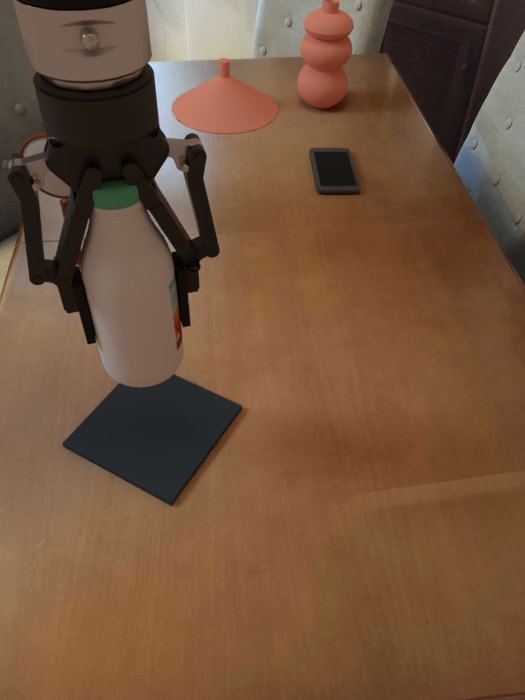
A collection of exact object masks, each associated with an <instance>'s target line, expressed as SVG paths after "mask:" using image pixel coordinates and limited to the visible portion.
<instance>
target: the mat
mask: <svg viewBox="0 0 525 700" xmlns="http://www.w3.org/2000/svg"><path fill="white" fill-rule="evenodd" d="M242 410H243V405H241V404H240V403H237V402H235V401H232V400H231V399H228V398H226V397H224V396H223V395H220V394H218V393H216V392H213V391H211V390H210V389H207V388H204V386H201V385H198V384H196V383H194V382H192V381H189V380H187V379H185V378H183V377H181V376H179V375H176V373H174V374H173V375H172V376H171V377H170V378H169V379H167V380H165V381H164V382H162V383H159V384H157V385H153V386H149V387H130V386H126V385H123V384H121V383H117V385H116V386H115V387H114V388H113V389H112V390H111V391H110V392H109V393H108V394H107V395H106V397H104V398H103V399H102V400H101V402H100V403H99V404H98V405H97V406H96V407H95V408H94V409H93V410H92V411H91V413H89V414H88V415H87V417H86V418H84V419H83V421H82V422H81V423H80V424H79V425H77V427H75V428H76V429H74V430H73V432H71V434H70V435H68V437H67V438H66V439H65V440H64V441H63V442H62V443H61V445H62V447H63V448H65V449H67V450H68V451H70V452H72V453H74V454H76V455H77V456H79V457H81V458H83V459H85V460H87V461H89V462H91V463H92V464H93V465H96V466H98V467H100V468H102V469H103V470H105V471H107V472H109V473H110V474H113V475H114V476H116V477H117V478H120V479H122V480H123V481H125V482H127V483H129V484H131V485H132V486H134V487H136V488H138V489H140V490H142V491H144V492H145V493H147V494H149V495H150V496H153V497H154V498H156V499H158V500H160V501H162V502H164V503H166V504H168V505H169V506H171V507H172V505H174V503H175V502H176V501H177V499H178V498H179V496H180V495H181V494H182V492H183V491H184V489H185V488H186V486H187V485H188V484H189V483H190V481H191V480H192V478H193V477H194V476H195V474H196V473H197V471H198V470H199V469H200V467H201V466H202V465H203V463H204V462H205V461H206V459H207V458H208V456H209V455H210V454H211V452H212V451H213V449H214V448H215V447H216V445H217V444H219V443H218V442H219V441H220V440H221V438H223V436H224V435H225V433H226V431H227V430H228V429H229V428H230V426H231V425H232V423H233V422H234V421H235V419H236V418H237V416H238V415H239V414H240V412H241V411H242Z"/></svg>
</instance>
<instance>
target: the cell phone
mask: <svg viewBox="0 0 525 700" xmlns="http://www.w3.org/2000/svg"><path fill="white" fill-rule="evenodd" d="M308 155H309V159H310V164H311V169H312V174H313V179H314V184H315V189H316V192H317V193H318V194H358V193H360V192H361V191H362V190H361V189H362V187H361V184H360V180H359V176H358V173H357V169H356V166H355V163H354V160H353V156H352V153H351V149H350V148H347V147H310V148H309V152H308Z"/></svg>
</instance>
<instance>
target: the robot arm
mask: <svg viewBox="0 0 525 700" xmlns="http://www.w3.org/2000/svg"><path fill="white" fill-rule="evenodd" d="M12 3H13V7H14V10H15V15H16V19H17V23H18V27H19V32H20V34H21V39H22V43H23V47H24V51H25V54H26V58H27V63H28V65H29V66H30V67H31V68H32V69H33V70H34V71H35V73H34V75H33V77H32V83H33V87H34V91H35V94H36V95H35V96H36V99H37V104H38V107H39V110H40V116H41V119H42V123H43V128H44V131H45V133H46V136H47V141H46V144H45V147H44V152H41V153H38V154H35V155H31V156H28V157H24V156H23V155H22V154H20V152H13V153H11V154H9V156H7V157H8V158H7V180H8V182H9V184H10V186H11V188H12V190H13V191H14V194H15V195H16V197H17V199H18V200H19V202H20V210H21V219H22V227H23V235H24V236H23V237H24V244H25V245H24V246H25V253H26V261H27V263H26V264H27V269H28V279H29V282H30V283H31V285H34V286H41V285H44V284H45V283H49V284H53V285H55V286H56V287H57V291H58V294H59V297H60V300H61V304H62V308H63V310H64V312H66V313H67V314H73V313H79V317H80V321H81V326H82V329H83V332H84V337H85V340H86V343H87V345H92V344H97V340H96V336H95V332H94V328H93V324H92V320H91V316H90V312H89V308H88V304H87V300H86V295H85V291H84V286H83V281H82V276H81V268H80V266H78V265H77V264H76V263H77V260H78V256H79V252H80V249H81V250H82V246H83V242H84V239H85V235H86V231H87V228H88V224H89V219H90V218H91V214H92V211H93V207H94V200H93V191H94V190H99V188H100V185H101V182H109V181H117V180H125V179H126V180H127V182H128V183H129V185H130V186H132V185H136V186H137V188H138V193H139V198H140V200H141V201H142V203H143V204H144V206H145V207H146V209H147V211H148V212H149V213H150V214H151V216H152V218H153V219H154V220H155V222H156V224H157V225H158V227H159V228H160V229H161V231H162V232H163V234H164V235H165V237H166V238H167V240H168V241H169V243H170V244H171V246H172V248H173V249H174V250H175V251H171V254H172V258H173V262H174V268H175V275H176V282H177V291H178V300H179V309H180V318H181V328H187V327H191V326H192V324H191V313H190V302H189V301H190V300H189V294H191V293H197V292H199V289H200V286H201V285H200V273H199V272H200V270H201V267H202V265H201V263H200V262H201V261H202V260H203V259H205V258H207V257H208V258H210V259H212V258H216V257H218V256H219V255H220V252H221V249H220V245H219V240H218V236H217V232H216V227H215V224H214V219H213V214H212V210H211V206H210V200H209V197H208V191H207V188H206V183H205V180H204V177H205V171H206V164H207V159H208V155H207V153H206V150H205V147H204V146H203V143H202V141H201V138H200V136H199V135H198V134H196V133H194V132H191V133H188V134H186V135H185V137H184V138H174V137H167V136H166V134H165V133H164V131H163V130H162V128H161V126H160V116H159V105H158V97H157V87H156V86H157V85H156V77H155V70H154V69H153V67H152V66H151V64H149V63H150V61H151V60H152V57H153V50H152V43H151V42H152V41H151V34H150V33H151V32H150V25H149V16H148V14H149V13H148V7H147V5H148V4H147V0H12ZM168 158H171V159H172V160H173V162H174V165H175V167H176V169H177V170H178V171H180V172H182V173H183V178H184V181H185V185H186V186H185V187H186V189H187V193H188V197H189V202H190V205H191V210H192V212H193V216H194V217H193V218H194V220H195V225H196V228H197V229H196V230H197V233H198V236H196V237H193V238H191V236H190V235H189V234H188V232H187V230H186V228H185V227H184V226H183V224H182V222H181V220H180V219H179V218H178V216H177V214H176V212H175V211H174V210H173V208H172V206H171V204H170V203H169V201H168V200H167V198H166V196H165V195H164V194H163V191H162V190H161V188H160V186H159V185H158V183H157V181H156V179H155V178H156V177H157V175H158V173H159V172H160V171H161V169H162V167H163V165H164V164H165V162H166V161H167V159H168ZM49 171H51V172H52V173H53V174H54V175H56V176H57V177H58V178H59V179H60V180H62V181H63V182H64V183H65V184H67V185H68V186H69V187H70V197H69V201H68V206H67V210H66V214H65V218H64V217H63V222H62V227H61V231H60V234H59V238H58V243H57V248H56V251H55V255H53V256H52V257H53V258H52V259H48V258H45V249H44V237H43V236H44V235H43V226H42V225H43V224H42V213H41V205H40V194H39V193H40V192H39V191H40V189H41V188H42V187H43V186H44V184H45V180H44V176H45V174H46V173H47V172H49Z"/></svg>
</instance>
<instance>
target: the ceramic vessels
mask: <svg viewBox="0 0 525 700" xmlns="http://www.w3.org/2000/svg"><path fill="white" fill-rule="evenodd" d="M340 2H341V0H321V8H316V9H314V10H312V11H310V12H309V13H308V14H306V15H305V17H304V20H303V22H302V26H303V28H304V30H305V32H306V33H305V34H304V36H303V37H302V39H301V40H300V44H299V54H300V56H301V58H302V60H303V62H304V63H306V64H305V65H303V67H302V68H301V69H300V70H299V74H298V76H297V81H296V86H297V87H296V88H297V89H296V90H297V92H298V95H299V97H300V98H301V99H302V100H303V101H304V102H305V103H306V104H307V105H309V106H310V107H312V108H315V109H323V110H324V109H329V108H331V107H333V106H335V105H337V104H338V103H340V102H341V101H342V100H343V99H344V97H345V95H346V94H347V91H348V87H349V85H348V84H349V81H348V80H349V79H348V75H347V72H346V70H345V69H344V67H343V66H345V65H346V64H347V63H348V62H349V61H350V59H351V57H352V54H353V43H352V41H351V38H350V37H349V36H350V35H351V33H352V32H353V30H354V28H355V27H354V26H355V25H354V19H353V18H352V16H350V15H349V14H348V13H347V12H345V11H343V10H341V9H340ZM217 68H218V75H217V76H215V77H212V78H210V79H209V80H206V81H204V82H203V83H201V84H198V85H197V86H195V87H193V88H191V89H189V90H186V91H185V92H182V93H181V94H179V95H178V96H179V97H178V96H177V97H176V98H175V99H176V100H175V99H174V100H175V101H174V100H173V102H172V103H173V105H172V104H171V106H172V111H171V113H172V112H173V114H174V115H175V117H176V118H177V119H178V120H179V121H180V122H179V121H178V120H177V119H176V118H175V117H174V118H175V119H176V120H177V121H178V122H179V123H181V124H182V123H183V124H182V125H184V126H186V127H188V128H191V129H193V130H195V131H196V130H197V131H200V132H205V133H211V134H226V135H227V134H228V135H229V134H240V133H248V132H252V131H255V130H258V129H260V128H263V127H265V126H266V125H268V124H270V123H272V121H273V120H275V119H276V117H277V115H278V113H279V107H278V104H277V102H276V101H275V100H274V99H273V98H272V97H271V96H270V95H269V94H267V93H266V92H263V91H261V90H259V89H257V88H255V87H253V86H251V85H249V84H248V83H245V82H243V81H242V80H239V79H238V78H236V77H234V76H232V75H231V73H230V70H231V69H230V68H231V63H230V59H229V58H228V57H227V58H226V57H222V58H219V59H218V67H217ZM173 114H172V115H173ZM174 115H173V116H174Z"/></svg>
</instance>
